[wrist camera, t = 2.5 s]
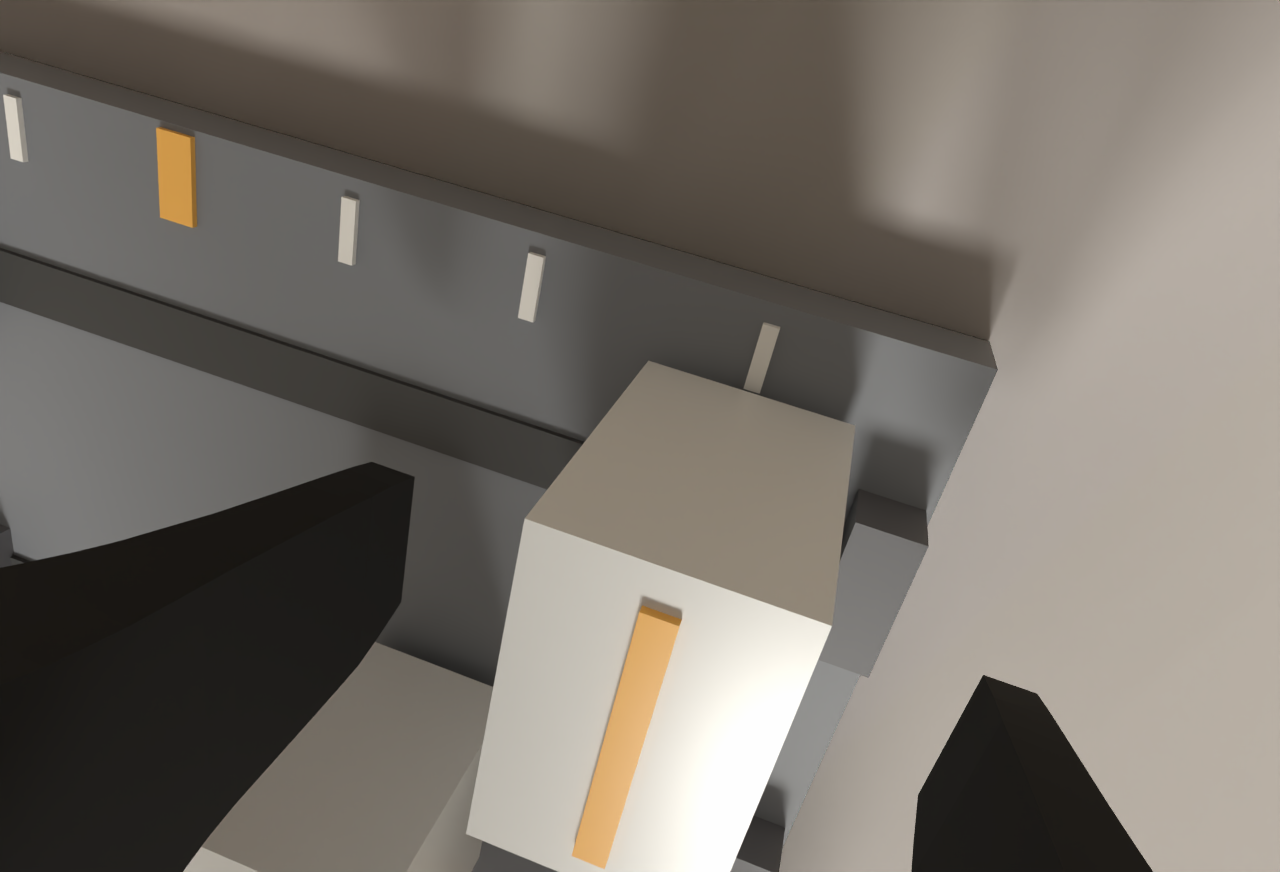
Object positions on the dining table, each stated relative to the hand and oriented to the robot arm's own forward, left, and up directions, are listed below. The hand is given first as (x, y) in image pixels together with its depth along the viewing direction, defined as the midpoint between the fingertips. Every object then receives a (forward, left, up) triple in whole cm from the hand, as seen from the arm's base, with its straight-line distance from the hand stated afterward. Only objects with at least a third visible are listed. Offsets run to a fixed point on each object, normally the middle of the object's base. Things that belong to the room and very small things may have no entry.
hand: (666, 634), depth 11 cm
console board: (-4, +7, -4) cm, 9 cm away
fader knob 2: (0, 0, -3) cm, 3 cm away
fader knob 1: (-7, +4, -3) cm, 9 cm away
